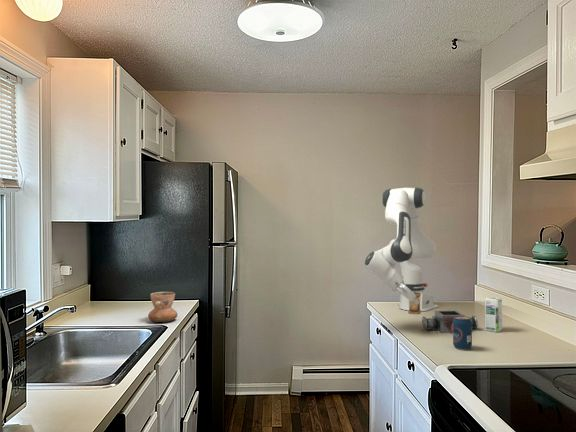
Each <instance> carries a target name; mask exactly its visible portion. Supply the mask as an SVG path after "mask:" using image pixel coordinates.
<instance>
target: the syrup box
mask: <svg viewBox="0 0 576 432" xmlns="http://www.w3.org/2000/svg"><path fill="white" fill-rule="evenodd" d="M484 318H485V319H484V330H485V331H488V332H492V333H499V332H501V331H502V330H503V299H502V298H499V297H491V296H488V297H486V298H485V299H484Z"/></svg>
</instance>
